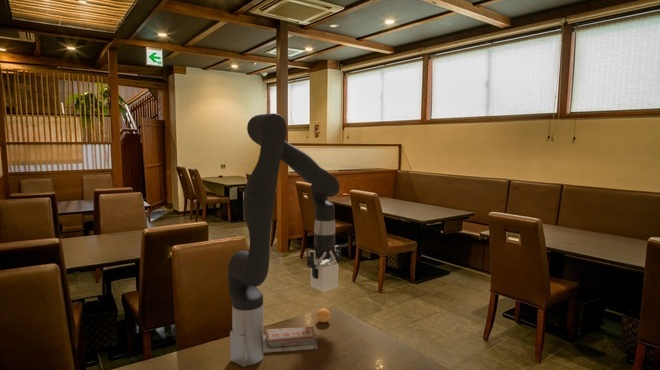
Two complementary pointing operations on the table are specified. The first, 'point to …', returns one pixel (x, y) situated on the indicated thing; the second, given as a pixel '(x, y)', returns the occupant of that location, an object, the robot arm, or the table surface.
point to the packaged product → (289, 339)
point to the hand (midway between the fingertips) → (324, 275)
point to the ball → (323, 315)
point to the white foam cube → (326, 276)
